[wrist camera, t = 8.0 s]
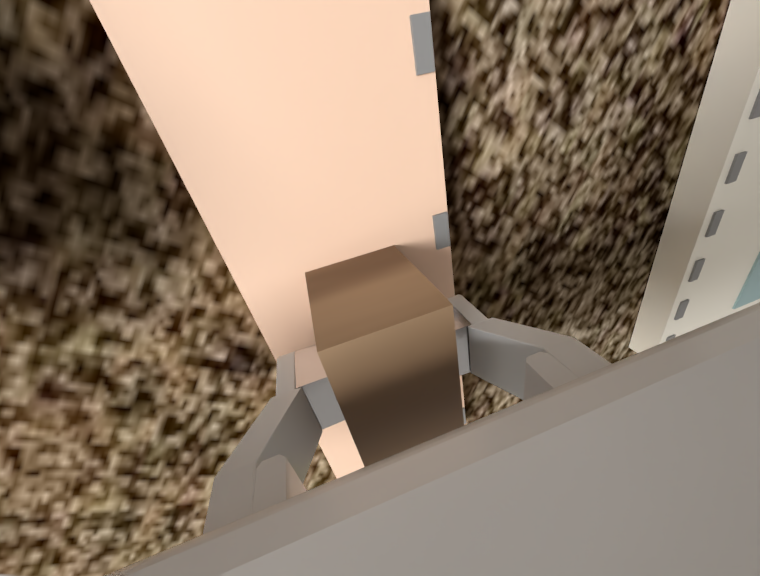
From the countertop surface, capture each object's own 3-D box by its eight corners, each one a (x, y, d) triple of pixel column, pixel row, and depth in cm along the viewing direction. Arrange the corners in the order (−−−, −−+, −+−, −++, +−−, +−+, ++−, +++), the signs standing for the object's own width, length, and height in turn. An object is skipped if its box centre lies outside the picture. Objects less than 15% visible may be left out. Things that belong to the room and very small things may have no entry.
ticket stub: (102, -22, 7) (-344, -403, 2) (397, -65, 8) (579, -382, 3) (340, 467, 17) (363, 598, 12) (454, 420, 18) (516, 524, 13)
